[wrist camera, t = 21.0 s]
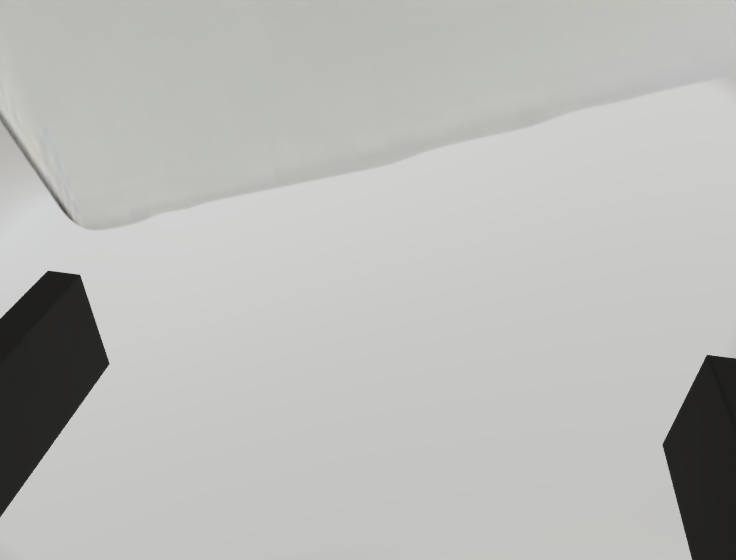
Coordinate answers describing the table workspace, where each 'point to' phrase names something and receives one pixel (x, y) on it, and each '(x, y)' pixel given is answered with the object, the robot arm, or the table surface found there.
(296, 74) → the table surface
